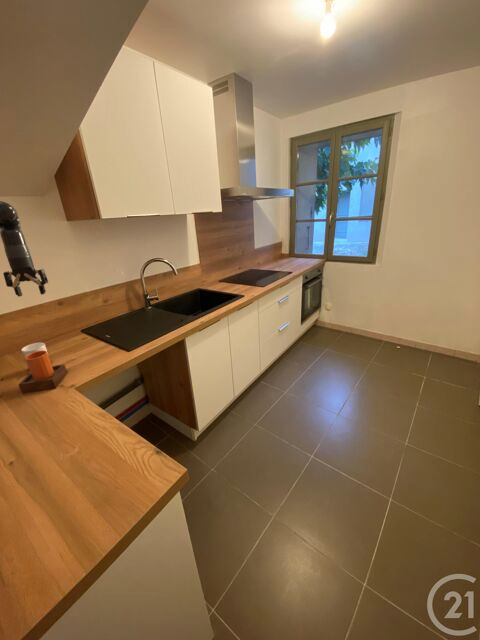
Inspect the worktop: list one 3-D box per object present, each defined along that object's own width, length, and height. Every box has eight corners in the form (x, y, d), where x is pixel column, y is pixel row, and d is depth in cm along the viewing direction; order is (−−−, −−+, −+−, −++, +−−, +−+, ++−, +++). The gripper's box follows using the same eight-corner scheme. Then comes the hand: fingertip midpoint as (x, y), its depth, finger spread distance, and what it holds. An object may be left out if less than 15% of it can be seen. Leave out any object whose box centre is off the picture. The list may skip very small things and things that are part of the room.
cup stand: (22, 393, 94) (18, 384, 93) (37, 377, 104) (34, 368, 103) (55, 388, 96) (52, 379, 94) (67, 372, 106) (64, 364, 105)
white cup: (32, 374, 106) (23, 353, 102) (28, 368, 111) (19, 347, 107) (54, 366, 111) (46, 345, 108) (49, 360, 116) (42, 340, 113)
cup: (29, 382, 95) (20, 360, 92) (38, 372, 102) (30, 352, 98) (49, 379, 97) (41, 357, 93) (57, 369, 103) (49, 349, 99)
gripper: (43, 254, 110) (54, 291, 116) (4, 256, 107) (17, 294, 113) (34, 256, 103) (46, 295, 109) (-8, 258, 100) (7, 299, 106)
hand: (31, 295), depth 111 cm, fingers open, 8 cm apart
